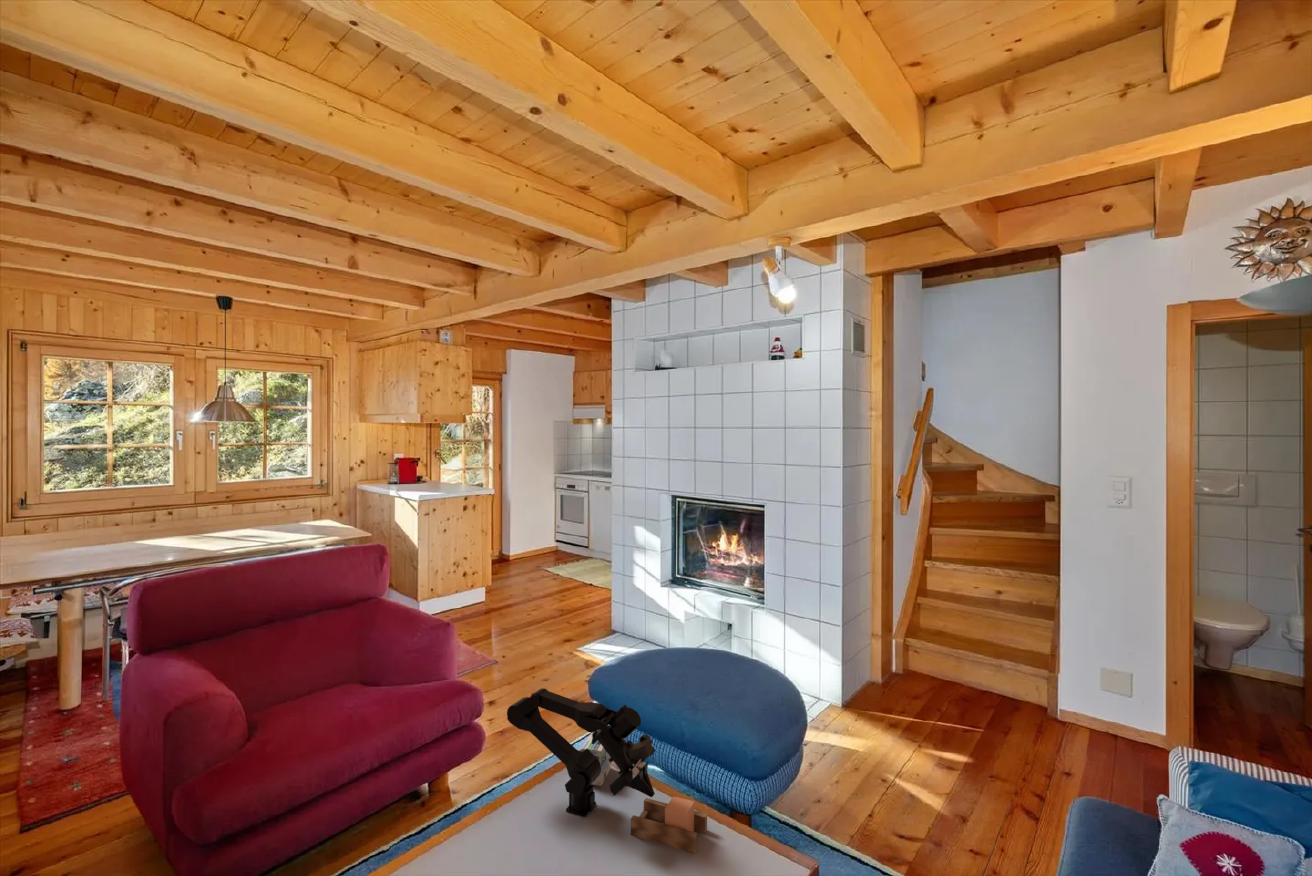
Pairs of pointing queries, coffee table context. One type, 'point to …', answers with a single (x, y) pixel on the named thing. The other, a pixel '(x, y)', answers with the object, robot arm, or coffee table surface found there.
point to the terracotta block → (680, 813)
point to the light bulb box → (602, 757)
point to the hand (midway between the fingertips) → (653, 795)
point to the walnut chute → (666, 827)
